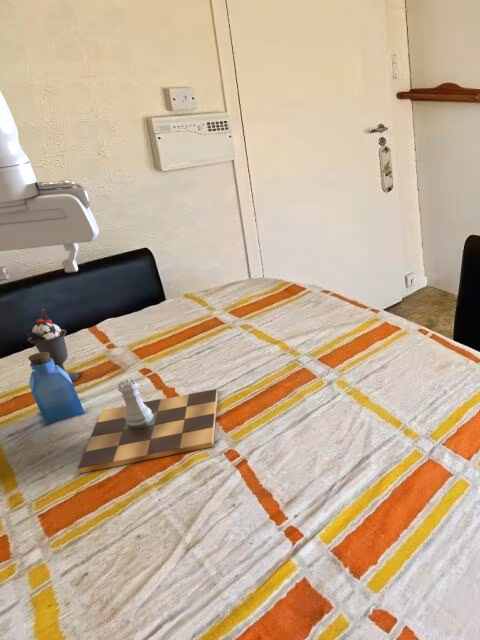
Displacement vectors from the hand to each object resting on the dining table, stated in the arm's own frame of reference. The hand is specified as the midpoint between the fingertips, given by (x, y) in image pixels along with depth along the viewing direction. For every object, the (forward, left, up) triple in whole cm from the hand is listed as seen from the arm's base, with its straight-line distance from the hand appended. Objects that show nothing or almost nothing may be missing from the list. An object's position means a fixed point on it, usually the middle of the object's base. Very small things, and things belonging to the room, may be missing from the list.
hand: (38, 275), depth 99 cm
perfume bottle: (-8, +10, -29) cm, 32 cm away
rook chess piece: (+7, -2, -28) cm, 29 cm away
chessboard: (+9, -4, -29) cm, 31 cm away
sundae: (-11, +26, -29) cm, 41 cm away
